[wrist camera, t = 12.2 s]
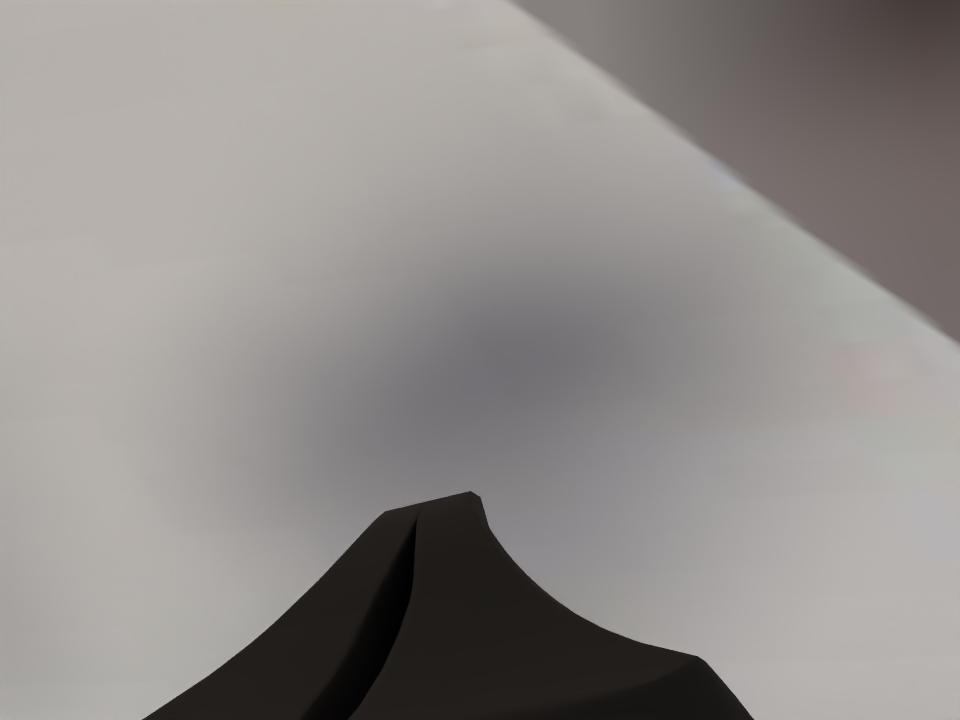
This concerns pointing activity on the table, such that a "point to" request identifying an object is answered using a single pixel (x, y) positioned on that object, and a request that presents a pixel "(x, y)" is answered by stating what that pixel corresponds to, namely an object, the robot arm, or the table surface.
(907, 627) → the table surface
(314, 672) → the robot arm
